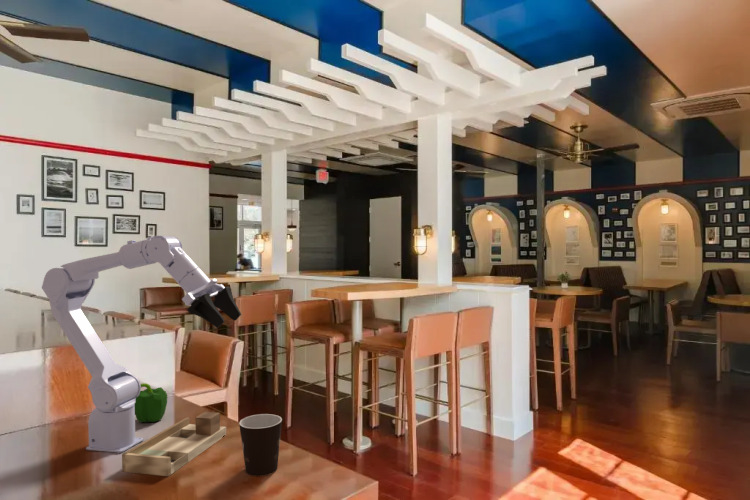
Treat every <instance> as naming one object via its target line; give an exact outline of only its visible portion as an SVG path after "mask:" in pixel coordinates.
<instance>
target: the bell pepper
mask: <svg viewBox="0 0 750 500" xmlns="http://www.w3.org/2000/svg"><path fill="white" fill-rule="evenodd" d="M140 384H141V388H143V387H145V388H146V389H143V390H141V391H140V394H139V395H138V397H136V403H135V419H137V421H138V422H139V423H148V422H150V423H155V422H159V421H162V419H163V417H164V415H165V414H166V413H165V412H166V410H167V409H166V408H167V404H168V394H167V392H166V390H164V389H163V387H156V388H152V387H151V385H150V384H148V383H144V382H143V383H140Z"/></svg>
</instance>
